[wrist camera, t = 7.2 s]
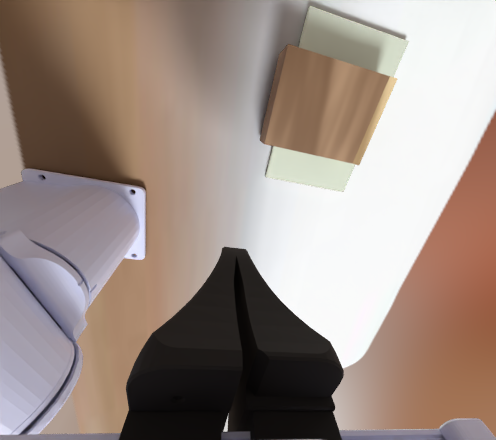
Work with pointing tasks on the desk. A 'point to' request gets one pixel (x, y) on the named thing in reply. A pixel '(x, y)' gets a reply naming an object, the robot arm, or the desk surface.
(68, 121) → the desk surface
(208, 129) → the desk surface
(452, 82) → the desk surface
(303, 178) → the sage mat
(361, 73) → the walnut slab
